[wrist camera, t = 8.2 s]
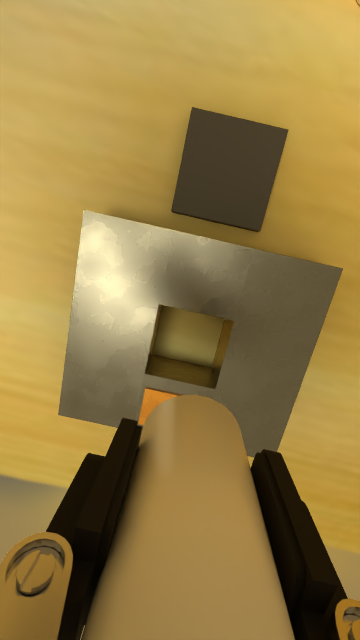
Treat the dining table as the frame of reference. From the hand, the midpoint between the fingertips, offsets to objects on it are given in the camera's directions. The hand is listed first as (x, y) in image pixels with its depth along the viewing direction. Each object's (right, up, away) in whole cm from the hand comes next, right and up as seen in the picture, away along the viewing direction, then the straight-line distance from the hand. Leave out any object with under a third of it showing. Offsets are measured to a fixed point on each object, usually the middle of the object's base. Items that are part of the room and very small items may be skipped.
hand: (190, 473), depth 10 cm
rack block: (0, +4, +15) cm, 16 cm away
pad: (+3, +16, +12) cm, 21 cm away
